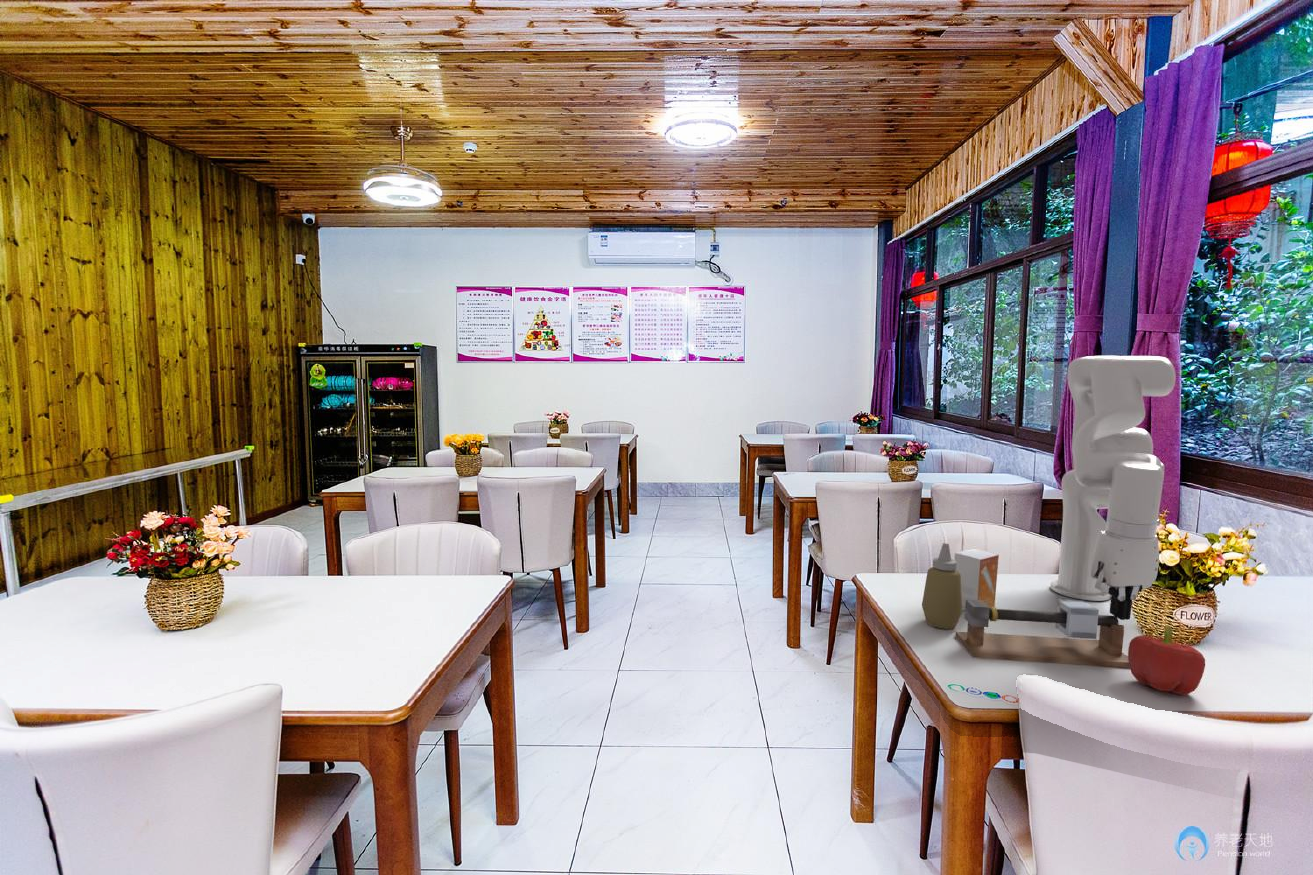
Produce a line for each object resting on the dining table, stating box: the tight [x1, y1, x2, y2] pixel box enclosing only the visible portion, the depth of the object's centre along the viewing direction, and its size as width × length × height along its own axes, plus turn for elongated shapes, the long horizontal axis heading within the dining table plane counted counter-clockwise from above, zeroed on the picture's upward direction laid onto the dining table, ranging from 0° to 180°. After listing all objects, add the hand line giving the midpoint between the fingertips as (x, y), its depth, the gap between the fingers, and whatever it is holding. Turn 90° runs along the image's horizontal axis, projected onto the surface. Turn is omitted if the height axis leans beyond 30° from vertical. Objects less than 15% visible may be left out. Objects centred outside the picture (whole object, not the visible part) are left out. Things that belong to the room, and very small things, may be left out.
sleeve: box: [1055, 599, 1100, 640], centre depth 121 cm, size 5×5×6 cm
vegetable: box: [1127, 624, 1206, 696], centre depth 108 cm, size 11×10×10 cm
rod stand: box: [955, 599, 1130, 669], centre depth 122 cm, size 29×10×9 cm, turn 83°
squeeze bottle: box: [921, 542, 963, 630], centre depth 134 cm, size 8×8×18 cm
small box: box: [954, 548, 1000, 611], centre depth 145 cm, size 8×6×13 cm
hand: (1119, 616), depth 120 cm, fingers closed
